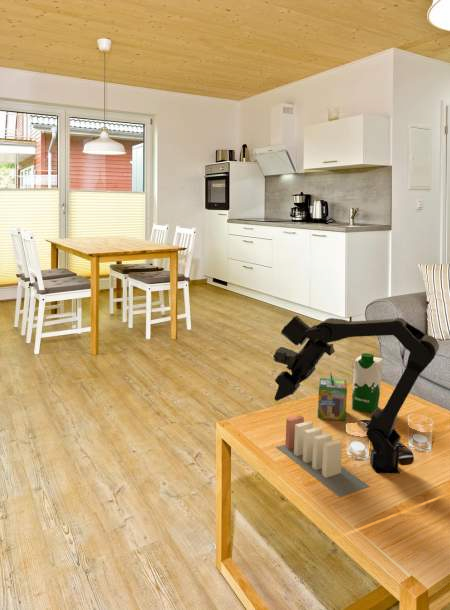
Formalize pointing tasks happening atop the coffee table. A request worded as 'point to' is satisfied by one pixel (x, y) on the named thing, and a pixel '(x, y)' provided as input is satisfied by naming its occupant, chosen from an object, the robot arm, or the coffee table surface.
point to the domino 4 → (319, 449)
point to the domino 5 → (332, 458)
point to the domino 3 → (309, 443)
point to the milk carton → (366, 383)
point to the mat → (336, 483)
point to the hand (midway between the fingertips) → (281, 394)
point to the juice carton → (332, 399)
